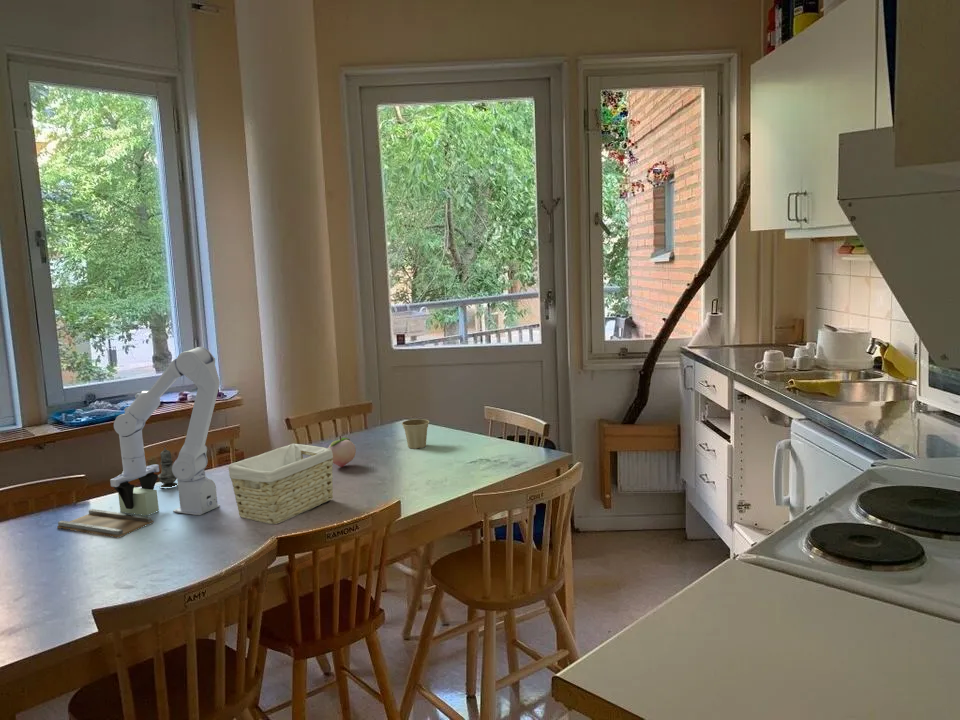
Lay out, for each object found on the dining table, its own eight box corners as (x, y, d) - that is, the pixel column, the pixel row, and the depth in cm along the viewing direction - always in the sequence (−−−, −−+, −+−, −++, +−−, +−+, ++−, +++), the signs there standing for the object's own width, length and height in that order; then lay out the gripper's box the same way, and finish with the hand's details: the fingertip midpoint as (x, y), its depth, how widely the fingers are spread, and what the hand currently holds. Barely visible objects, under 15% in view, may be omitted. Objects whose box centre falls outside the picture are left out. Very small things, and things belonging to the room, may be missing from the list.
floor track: (153, 522, 203) (152, 517, 202) (118, 537, 193) (117, 531, 193) (94, 513, 212) (93, 508, 212) (57, 528, 202) (56, 522, 202)
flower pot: (429, 449, 262) (428, 424, 260) (401, 450, 262) (400, 425, 261) (431, 442, 271) (430, 418, 270) (404, 443, 271) (403, 419, 270)
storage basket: (273, 528, 194) (267, 471, 192) (230, 518, 203) (224, 464, 201) (339, 500, 214) (335, 447, 212) (297, 492, 223) (293, 442, 221)
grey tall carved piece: (172, 489, 231) (167, 450, 229) (154, 489, 232) (150, 450, 230) (183, 483, 236) (179, 444, 235) (166, 483, 238) (161, 444, 236)
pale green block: (159, 511, 212) (156, 490, 211) (147, 516, 208) (144, 494, 207) (132, 507, 216) (130, 486, 215) (120, 512, 212) (118, 491, 212)
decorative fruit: (348, 472, 240) (345, 440, 239) (324, 470, 243) (322, 439, 241) (362, 463, 249) (359, 433, 247) (339, 462, 252) (337, 432, 250)
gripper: (143, 448, 218) (149, 494, 220) (99, 462, 205) (105, 511, 207) (162, 450, 215) (167, 497, 217) (119, 464, 202) (125, 514, 204)
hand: (138, 504), depth 212 cm, fingers open, 6 cm apart
